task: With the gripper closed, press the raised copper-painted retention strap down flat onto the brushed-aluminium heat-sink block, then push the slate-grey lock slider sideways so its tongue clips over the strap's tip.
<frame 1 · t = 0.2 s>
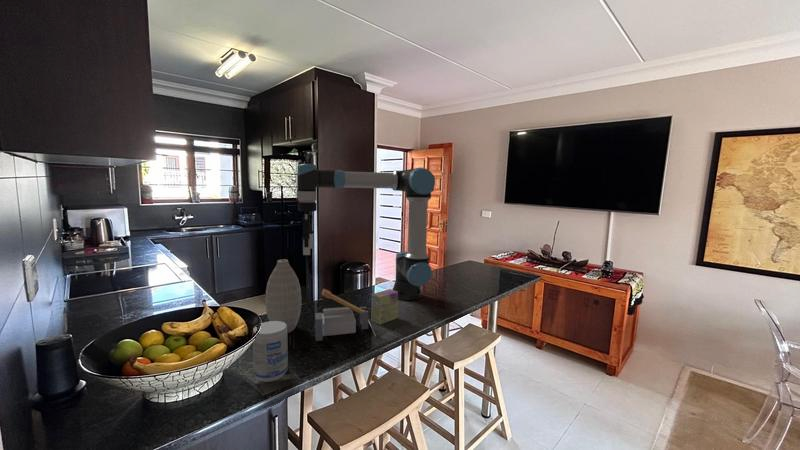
hand: (307, 251, 139), 28 cm above the breakfast bar, fingers open, 13 cm apart
lock: (318, 326, 118), point 5 cm above the breakfast bar, slide at 0.0 cm
vase: (284, 332, 125), on the breakfast bar
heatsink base: (341, 331, 126), on the breakfast bar
box: (384, 320, 138), on the breakfast bar
supplement tub: (271, 374, 97), on the breakfast bar
strap: (344, 303, 126), point 11 cm above the breakfast bar, hinge at 32.0°
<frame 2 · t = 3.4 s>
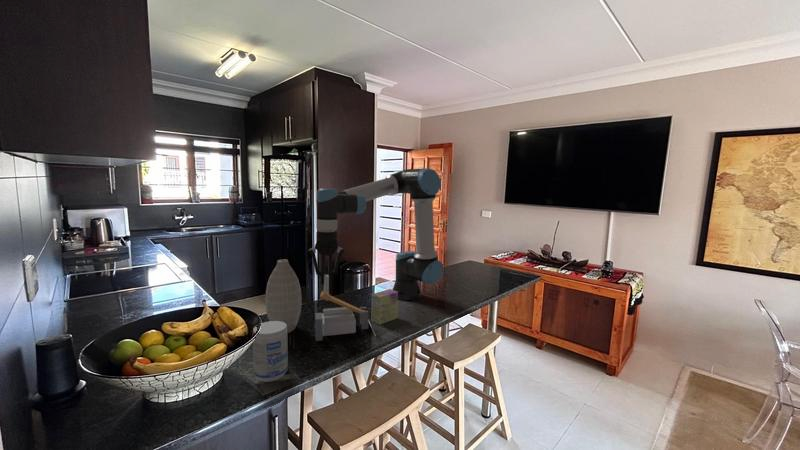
hand: (326, 292, 123), 16 cm above the breakfast bar, fingers closed
strap: (344, 304, 126), point 11 cm above the breakfast bar, hinge at 28.7°, touching gripper
everything else where it was.
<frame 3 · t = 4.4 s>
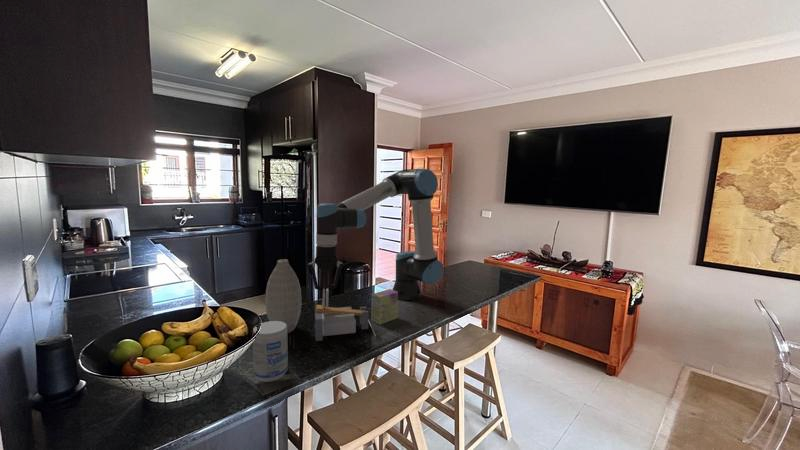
hand: (325, 306, 123), 11 cm above the breakfast bar, fingers closed
strap: (341, 311, 126), point 8 cm above the breakfast bar, hinge at 10.8°, touching gripper
everything else where it was.
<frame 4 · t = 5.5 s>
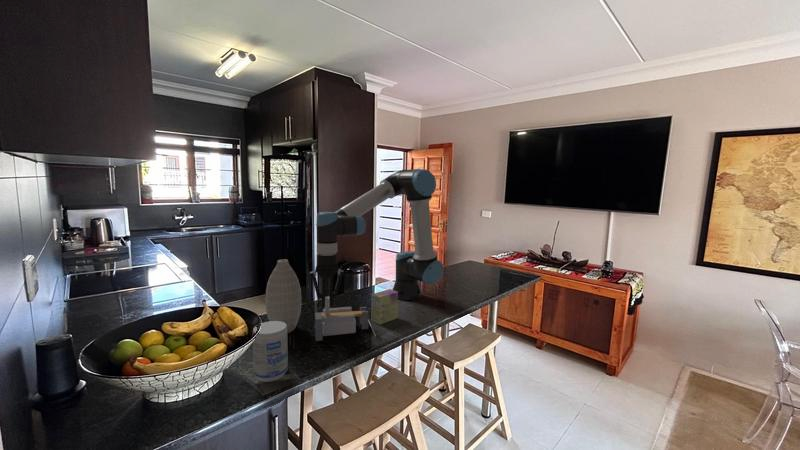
hand: (327, 314, 124), 7 cm above the breakfast bar, fingers closed
strap: (341, 314, 126), point 7 cm above the breakfast bar, hinge at 0.7°, touching gripper
everything else where it was.
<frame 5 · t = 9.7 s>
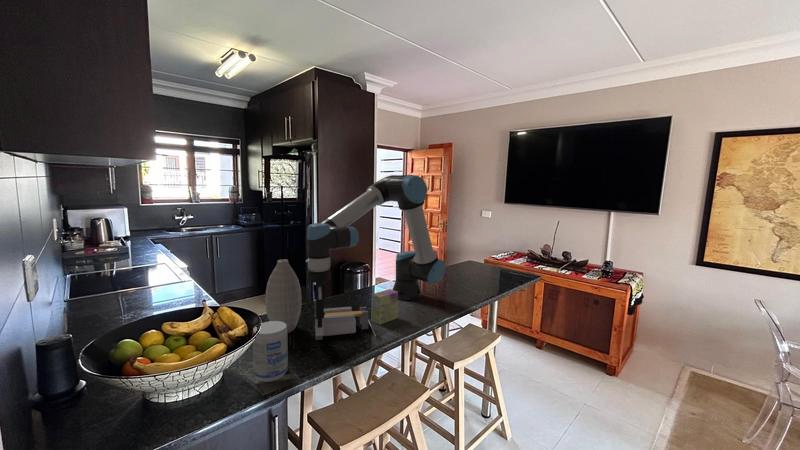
hand: (319, 334, 114), 4 cm above the breakfast bar, fingers closed
lock: (318, 325, 119), point 5 cm above the breakfast bar, slide at 0.8 cm, touching gripper
strap: (341, 314, 126), point 7 cm above the breakfast bar, hinge at 0.7°
everything else where it was.
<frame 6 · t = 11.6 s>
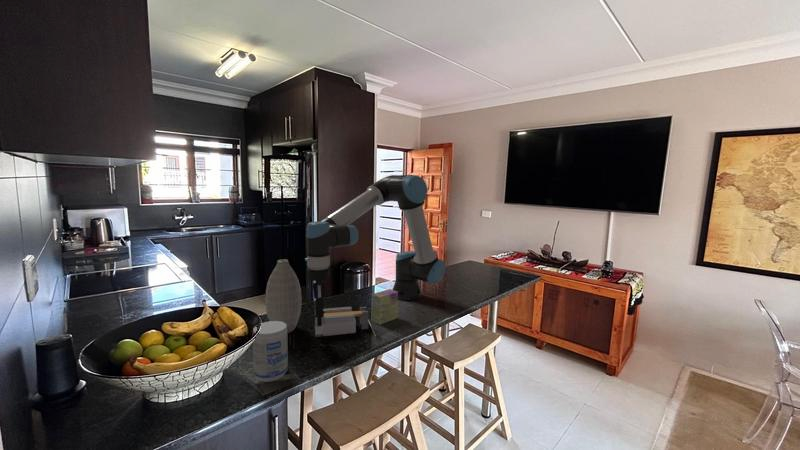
hand: (319, 333, 114), 5 cm above the breakfast bar, fingers closed
lock: (318, 322, 121), point 5 cm above the breakfast bar, slide at 3.2 cm
everything else where it was.
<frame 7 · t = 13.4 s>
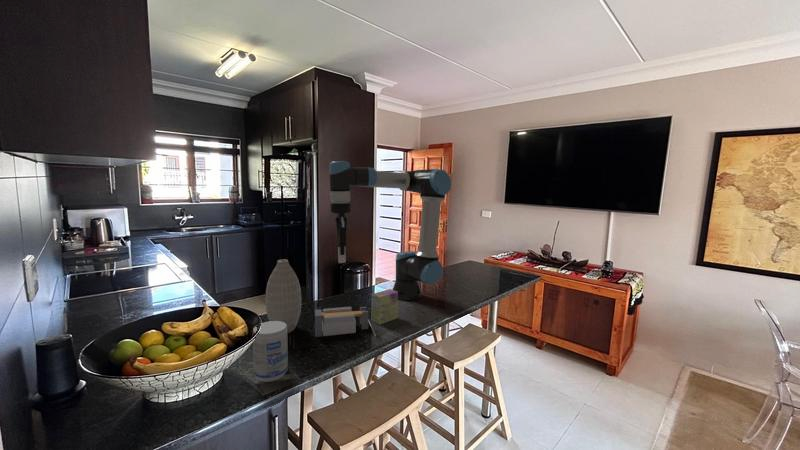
hand: (342, 262, 128), 26 cm above the breakfast bar, fingers closed
nothing on the breakfast bar moved.
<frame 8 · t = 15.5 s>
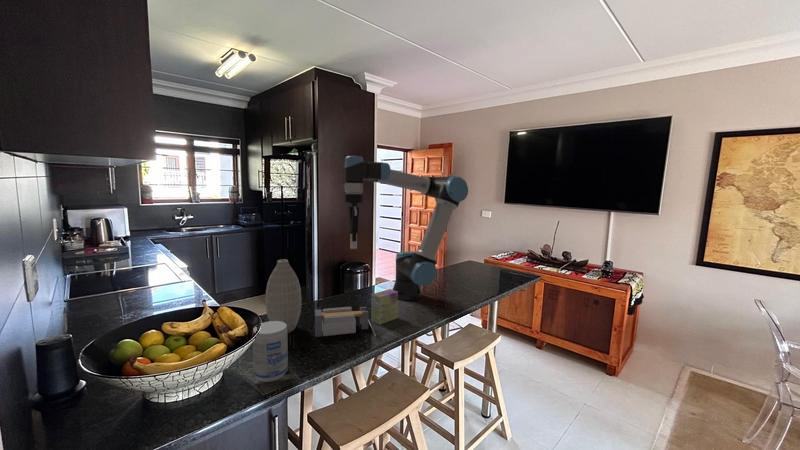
hand: (353, 248, 140), 29 cm above the breakfast bar, fingers closed
nothing on the breakfast bar moved.
at the end: strap at +1° (first picture: +32°); lock slide at 3.2 cm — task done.
